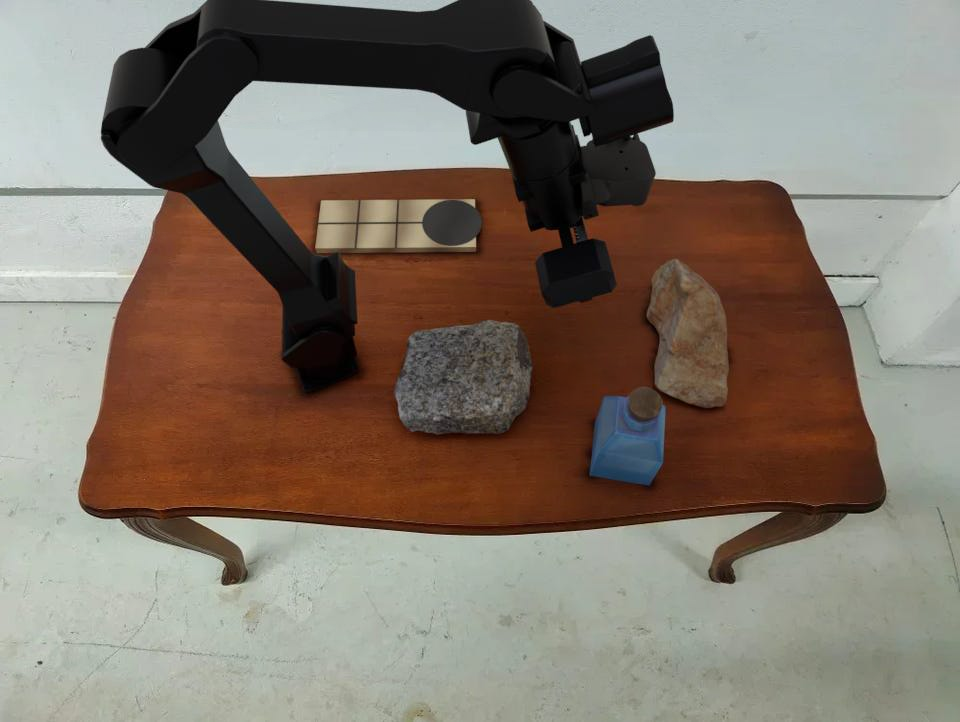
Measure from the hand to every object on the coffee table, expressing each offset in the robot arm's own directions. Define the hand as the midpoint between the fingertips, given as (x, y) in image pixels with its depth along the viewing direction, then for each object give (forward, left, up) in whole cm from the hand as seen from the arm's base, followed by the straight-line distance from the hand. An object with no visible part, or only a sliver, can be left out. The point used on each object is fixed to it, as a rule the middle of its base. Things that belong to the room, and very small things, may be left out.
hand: (577, 262), depth 70 cm
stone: (+13, -7, -14) cm, 20 cm away
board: (-11, +23, -14) cm, 30 cm away
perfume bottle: (-1, -16, -14) cm, 21 cm away
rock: (-13, -2, -14) cm, 19 cm away
